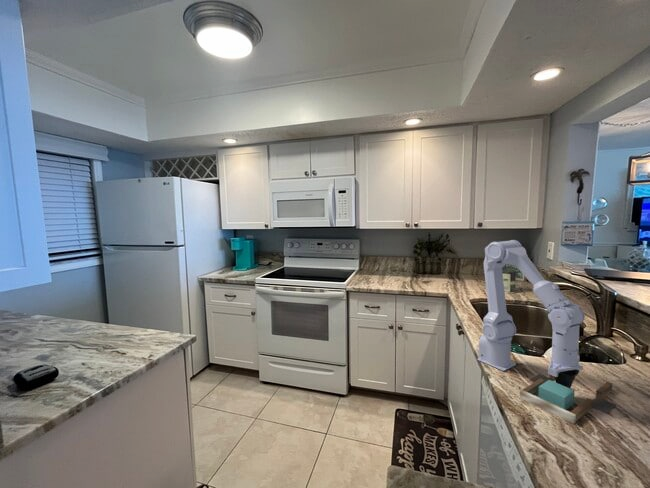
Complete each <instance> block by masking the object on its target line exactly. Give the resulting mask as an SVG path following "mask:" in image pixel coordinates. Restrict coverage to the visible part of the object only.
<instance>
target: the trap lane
mask: <svg viewBox="0 0 650 488" xmlns="http://www.w3.org/2000/svg"><path fill="white" fill-rule="evenodd" d="M548 380H551V381H555V378H554V376H552V375H550V374H549V376H546V375H543V374H542V373H538V374H536V375H534V376H533V377H531V378H529V381H531V382H532V383H531V384H529V385H528V386H526V387H524V388H523V389H521V390H520V391H519V399H521V400H524V401H526V402H528V403H530V404H532V405H533V406H536V407H538V408H540V409H542V410H544V411H547V412H548V413H550V414H552V415H554V416H557V417H558V418H560V419H562V420H564V421H566V422H568V423H571V424H573V425H574V424H575V423H577V422H578V421H579V420H580V419H581V418H582V417H583V416H584V415H585V414H587V413H588V412H590V410H591V409H592V408H594V409H597V410H598V411H601V412H603V413H606V414H609V413H610V412H611V411H612V410H613V409H614V408H615V407H616V406H617V404H616V403H613V402H611V401H608V400H607V399H606V400H605V399H604V398H605V397H606V396H607V395H608V394H609V393H611V392H612V391H613V385H614V384H613V383H612V382H609V381H606V382H604V383H603V384H602V385H601V386H600V387H598V388H597V389H596V391H595V398H593V399H592V398H589V397H587V398H585V399H583V401H582V402H580V404H578V405H577V406H576V407H574V409H573V408H572V410H571V411H569V410H568V409H567V410H564V409H562V408H560V407H558V406H556V405H554V404H552V403H550V402H547V401H545V400H543V399H541V398H539V397H538V396H537V395H534V394H536V393H537V392H539V386H540V385H542V384H543V383H545V382H546V381H548Z"/></svg>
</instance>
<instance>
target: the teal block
mask: <svg viewBox="0 0 650 488" xmlns="http://www.w3.org/2000/svg"><path fill="white" fill-rule="evenodd" d="M575 390H576V389H575ZM575 390H574V389H572V388H568V387H566V386H563V385H561V384H558V383H556V381H554V380H552V381H551V380H548V381H546V382H545V383H543V384H542V385H540V386H539V391H538V396H537V397H539V398H541V399H543V400H545V401H547V402H550V403H552V404H554V405H556V406H558V407H560V408H562V409H564V410H567V411H568V409H569V408H571V407H572V406H573V405H574V404H575V392H576V391H575Z"/></svg>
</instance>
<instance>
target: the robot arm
mask: <svg viewBox="0 0 650 488" xmlns="http://www.w3.org/2000/svg"><path fill="white" fill-rule="evenodd" d="M484 255H485V256H484V260H483V271H484V272H483V273H484V281H485V289H486V299H487V308H488V309H487V310H488V312H487V313H486V315H485V316H484V317H483V324H482V327H481V330H482V335H481V337H480V338H479V341H478V358H477V361H479V362H482V363H484V364H486V365H489V366H490V367H493V368H496V369H497V370H500V371H502V372H505V371H508V370H509V369H510V368H513V367H515V366H516V365H517V363H516V362H514V361H511V358H512V357H511V355H512V354H511V353H512V352H511V351H512V340H513V337H514V336H515V335H516V334H517V327H516V325H515V323H514V321H513V320H514V319H513V316H512V315H511V314H509V313H508V312H507V311H508V310H507V302H506V293H505V291H504V282H503V273H502V269H503V268H504V267H505V266H506V265H511V266H515V267H516V268H517V269H518V270H519V272H520V273H521V274H522V275H523V276H524V277H525V278H526V279H527V280H528V282H529V283H530V284H531V285H532V286H533V290H532V292H533V294H534V295H535V296H536V298H537V299H538V300H539V301H540V303H541V304H542V305H543V306H544V308H545V309H546V310H547V311H548V314H547V318H548V320H549V322H550V323H551V329H552V337H551V338H552V339H551V357H550V363H549V366H548V369H547V374H548V375H549V376H550V375H552V376H554V378H555V380H554V382H556V383H558V384H561V385H563V386H566V387H568V388H570V389H572V388H571V387H572V385H573V382H574V380H575V379H576V376H578V374H579V373H580V371H582V370H584V366H583V365H581V364H580V357H581V355H579V349H580V347H579V344H580V324H581V323H583V322H584V320H585V317H586V316H585V312H584V311H583V309H582V307H581V306H579V305H578V304H576V303H573V302H571V300H568V298H567V297H566V296H565V295H564V294H563V293H562V291H561V290H560V287H559V286H558V284H555V283H554V282H553V281H549V280H546V279H545V278H544V276H543V275H542V274H541V272H540V271H539V270H538V268H537V266H536V265H535V264H534V263H533V262H532V260H531V259H530V258H529V257H528V254H527V250H526V248H525V247H523V246H522V243H520V242H519V240H516V239H511V240H504V241H492V242H490V243H489V244H488V245H487V246H485V247H484Z"/></svg>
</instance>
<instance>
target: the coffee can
mask: <svg viewBox="0 0 650 488" xmlns="http://www.w3.org/2000/svg"><path fill="white" fill-rule="evenodd" d="M516 272H517V270H514V269H503V268H502V273H503V282H504V291H505V294H514V293H516V283H517V282H516V279H517V278H516V277H517V275H516V274H517V273H516Z"/></svg>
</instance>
